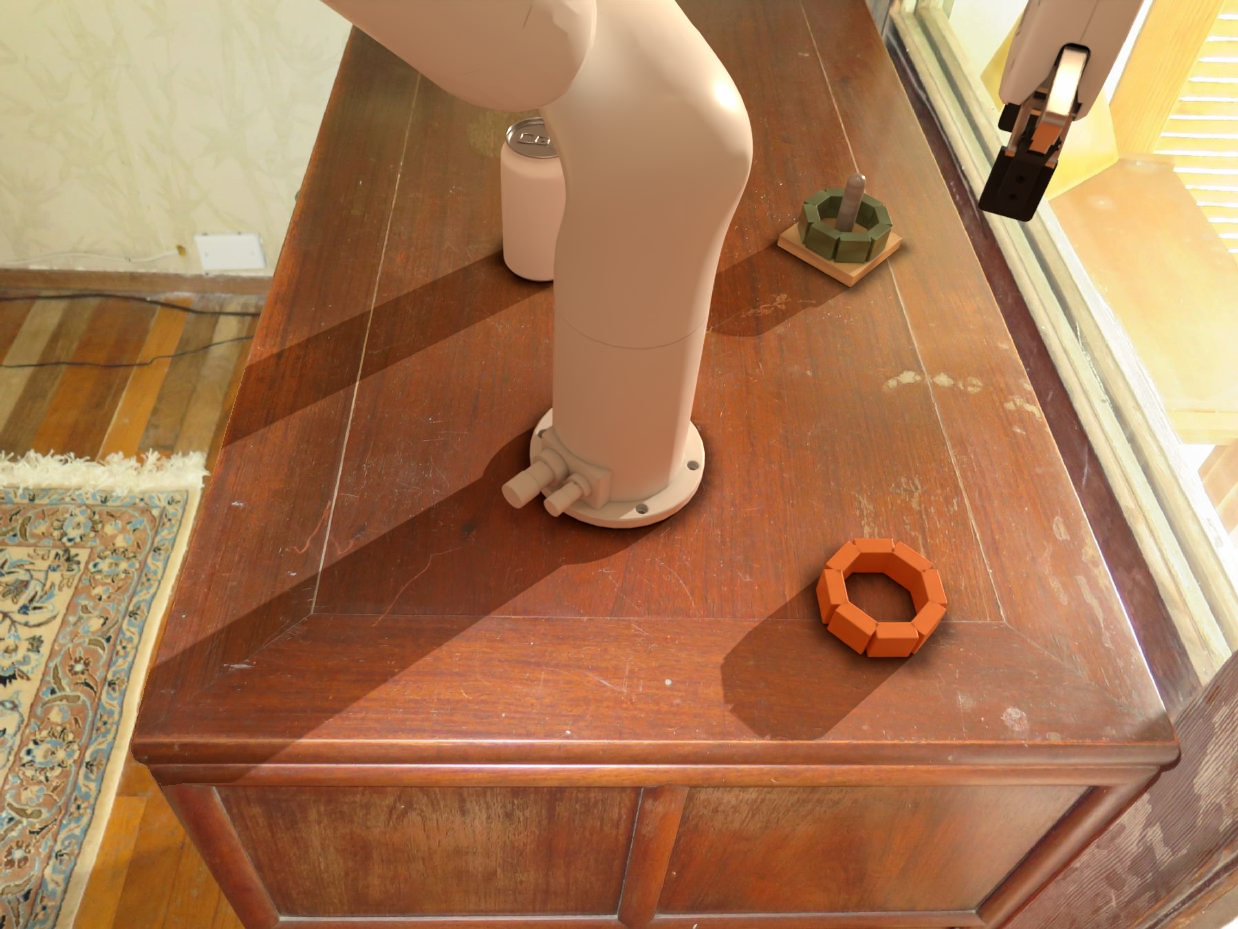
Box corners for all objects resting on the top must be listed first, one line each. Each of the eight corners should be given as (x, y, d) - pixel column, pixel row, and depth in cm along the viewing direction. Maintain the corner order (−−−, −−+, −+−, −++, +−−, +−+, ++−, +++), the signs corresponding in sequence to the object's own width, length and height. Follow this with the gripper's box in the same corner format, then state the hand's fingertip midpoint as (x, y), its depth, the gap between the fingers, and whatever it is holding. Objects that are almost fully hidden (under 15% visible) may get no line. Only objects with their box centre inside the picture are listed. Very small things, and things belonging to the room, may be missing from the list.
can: (568, 290, 84) (572, 166, 74) (494, 276, 84) (489, 152, 75) (585, 243, 88) (591, 121, 78) (514, 231, 88) (512, 108, 79)
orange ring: (893, 680, 62) (904, 661, 60) (795, 606, 65) (802, 586, 63) (954, 605, 66) (966, 586, 64) (859, 539, 69) (868, 518, 67)
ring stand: (850, 287, 86) (872, 215, 80) (776, 245, 89) (793, 172, 83) (899, 248, 90) (923, 176, 84) (827, 209, 93) (846, 137, 87)
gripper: (1078, -195, 55) (971, 92, 68) (1051, -84, 44) (930, 231, 57) (1218, -167, 54) (1082, 120, 67) (1226, -46, 43) (1061, 267, 56)
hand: (1012, 171), depth 62 cm, fingers open, 9 cm apart
